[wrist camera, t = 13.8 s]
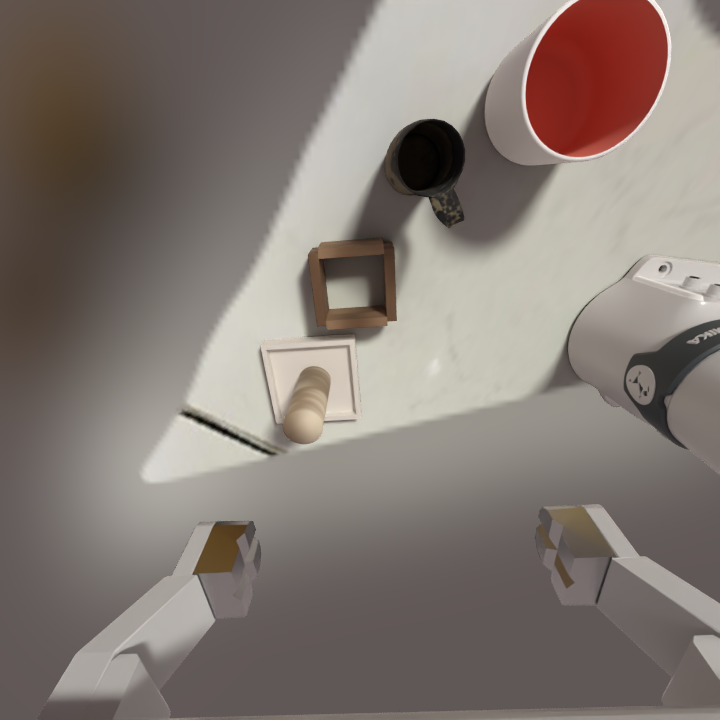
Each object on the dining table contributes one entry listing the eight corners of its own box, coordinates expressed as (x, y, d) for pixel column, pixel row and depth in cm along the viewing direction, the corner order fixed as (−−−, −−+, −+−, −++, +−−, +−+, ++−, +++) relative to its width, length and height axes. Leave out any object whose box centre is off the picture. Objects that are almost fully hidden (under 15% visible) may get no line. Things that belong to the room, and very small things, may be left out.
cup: (580, 161, 37) (651, 155, 28) (477, 170, 37) (514, 167, 28) (600, 30, 32) (692, -27, 23) (483, 43, 33) (529, -9, 24)
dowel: (329, 365, 46) (320, 410, 37) (332, 393, 47) (324, 443, 38) (296, 367, 46) (279, 412, 37) (301, 395, 48) (285, 444, 39)
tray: (354, 333, 45) (354, 339, 43) (361, 411, 50) (361, 418, 48) (264, 339, 45) (260, 345, 44) (279, 415, 50) (276, 423, 48)
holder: (391, 237, 40) (394, 242, 36) (394, 313, 44) (396, 325, 40) (312, 243, 40) (307, 249, 37) (321, 318, 44) (317, 330, 40)
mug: (373, 149, 36) (378, 137, 26) (426, 118, 35) (453, 91, 24) (408, 225, 39) (425, 243, 29) (457, 199, 38) (494, 207, 27)
